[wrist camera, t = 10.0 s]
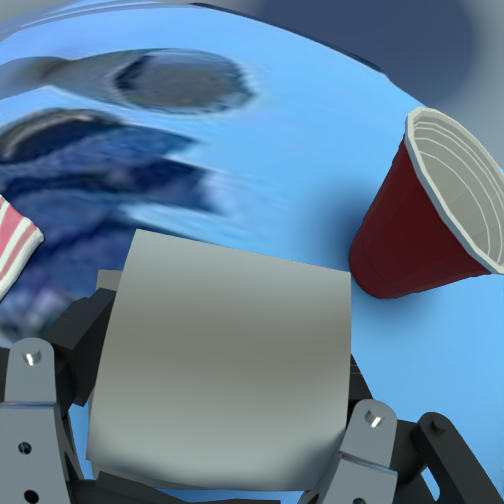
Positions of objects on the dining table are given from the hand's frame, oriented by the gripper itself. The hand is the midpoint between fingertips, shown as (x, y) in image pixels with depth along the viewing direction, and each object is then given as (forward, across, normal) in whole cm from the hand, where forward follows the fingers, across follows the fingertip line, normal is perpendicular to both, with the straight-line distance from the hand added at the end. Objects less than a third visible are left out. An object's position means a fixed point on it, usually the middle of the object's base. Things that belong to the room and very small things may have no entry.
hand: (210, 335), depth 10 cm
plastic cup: (+12, -12, 0) cm, 17 cm away
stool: (+4, 0, +7) cm, 8 cm away
